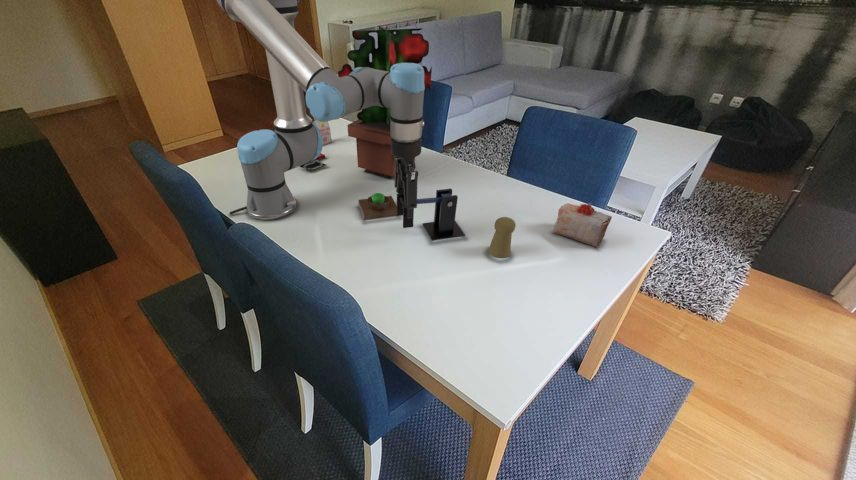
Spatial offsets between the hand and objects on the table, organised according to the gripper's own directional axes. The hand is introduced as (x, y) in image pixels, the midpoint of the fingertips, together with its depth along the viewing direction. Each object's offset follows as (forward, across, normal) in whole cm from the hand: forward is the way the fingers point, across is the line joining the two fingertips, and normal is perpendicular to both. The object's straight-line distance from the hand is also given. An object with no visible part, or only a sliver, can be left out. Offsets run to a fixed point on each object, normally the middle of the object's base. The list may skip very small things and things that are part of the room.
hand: (404, 220), depth 107 cm
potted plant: (+6, +47, -6) cm, 48 cm away
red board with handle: (+6, +66, +26) cm, 71 cm away
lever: (-4, 0, -6) cm, 7 cm away
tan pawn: (+6, -14, -23) cm, 27 cm away
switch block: (+6, +16, +4) cm, 18 cm away
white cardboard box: (+6, +80, +15) cm, 82 cm away
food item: (+6, -11, -49) cm, 50 cm away
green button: (+2, +16, +4) cm, 17 cm away
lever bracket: (+6, 0, -12) cm, 13 cm away
